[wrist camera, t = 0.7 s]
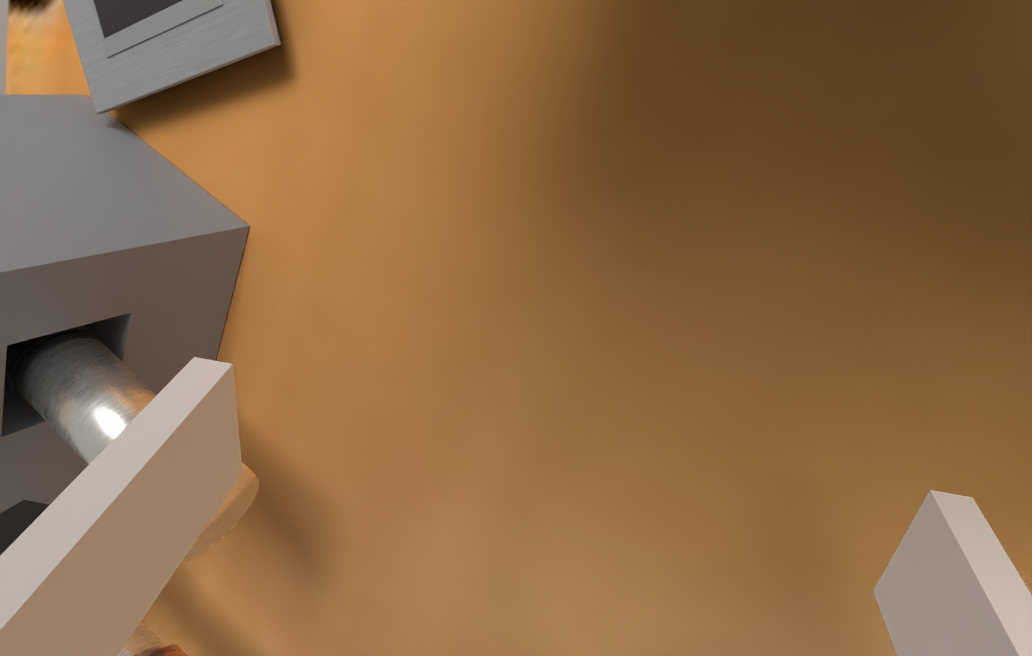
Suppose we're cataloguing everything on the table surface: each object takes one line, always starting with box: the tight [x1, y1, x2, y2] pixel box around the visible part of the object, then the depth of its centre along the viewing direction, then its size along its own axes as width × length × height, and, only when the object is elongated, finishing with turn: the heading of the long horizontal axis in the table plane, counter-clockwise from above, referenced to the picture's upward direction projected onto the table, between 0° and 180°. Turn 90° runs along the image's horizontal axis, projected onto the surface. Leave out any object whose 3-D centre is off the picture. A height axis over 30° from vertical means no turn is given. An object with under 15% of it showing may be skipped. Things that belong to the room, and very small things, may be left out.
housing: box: [0, 95, 249, 513], centre depth 37 cm, size 13×26×13 cm, turn 152°
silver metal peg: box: [5, 325, 259, 562], centre depth 30 cm, size 12×4×4 cm, turn 62°
